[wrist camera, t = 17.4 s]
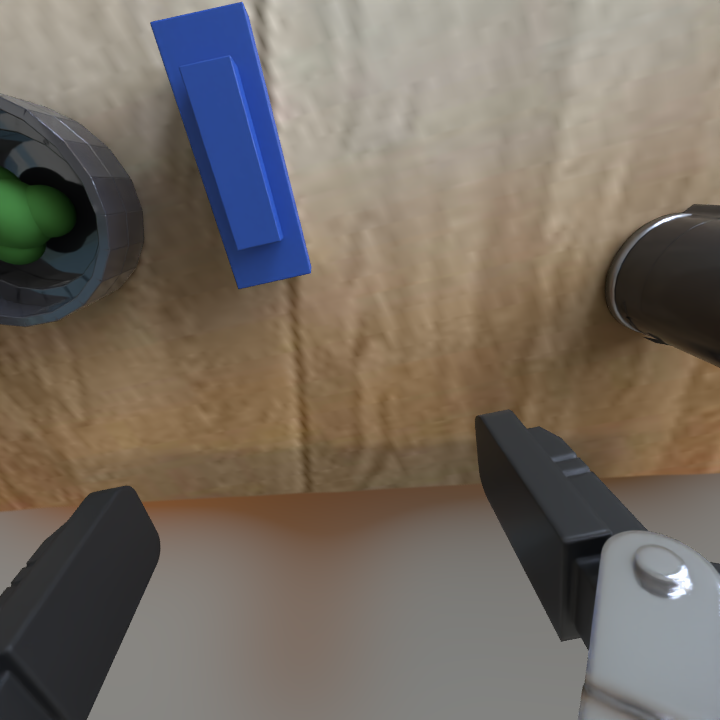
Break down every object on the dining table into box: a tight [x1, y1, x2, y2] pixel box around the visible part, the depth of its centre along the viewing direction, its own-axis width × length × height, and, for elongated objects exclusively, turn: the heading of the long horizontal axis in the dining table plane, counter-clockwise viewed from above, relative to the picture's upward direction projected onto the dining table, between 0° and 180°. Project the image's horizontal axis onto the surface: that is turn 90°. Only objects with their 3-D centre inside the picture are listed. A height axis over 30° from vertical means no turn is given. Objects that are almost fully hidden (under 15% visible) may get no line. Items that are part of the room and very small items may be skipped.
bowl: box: [0, 93, 144, 327], centre depth 24 cm, size 12×12×6 cm
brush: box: [150, 2, 311, 289], centre depth 24 cm, size 14×5×6 cm, turn 12°
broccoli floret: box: [0, 166, 77, 265], centre depth 24 cm, size 5×6×5 cm
